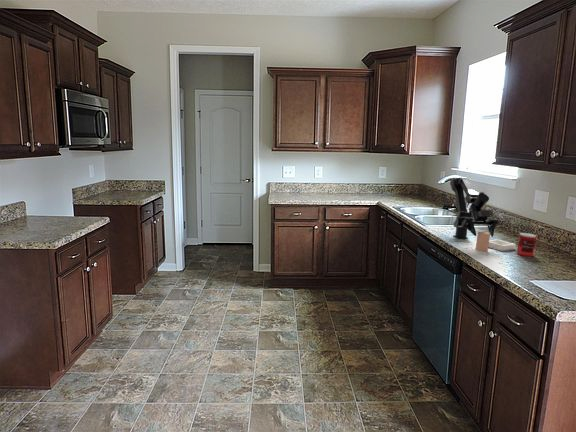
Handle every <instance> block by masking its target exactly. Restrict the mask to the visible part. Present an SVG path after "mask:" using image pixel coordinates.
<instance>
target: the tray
mask: <svg viewBox="0 0 576 432" xmlns="http://www.w3.org/2000/svg"><path fill="white" fill-rule="evenodd" d="M516 246H517V245H516V243H512V242H509V241H506V240H502V239H491V240H490V239H489V245H488V249H493V250H497V251H500V252H501V251H502V252H507V251H513V250H516Z"/></svg>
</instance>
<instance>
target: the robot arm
mask: <svg viewBox="0 0 576 432" xmlns="http://www.w3.org/2000/svg"><path fill="white" fill-rule="evenodd" d="M449 185H450V187H451V191H453V192H454V195H455V200H456V206H457V211H458V212H457V215H456V217H455V220H454V221H453V228H455V233H454V235H452V237H453V238H457V239H469V237H467V235H468V231H469V232H470V233H471V234H472V235H473V236H474V237H477V231H476V228H475V225H478V226H487V227H488V228H487V230H488V233H489V234H490V237H491V238H493V237H494V235H495V229H496V228H497V227H498V226H499V225H500V224H501V223H500V222H501V221H500V220H499V219H498V218H490V220H489V221H487V220H488V218H489V217H492V216H494V211H493V209H488V210H487V209H483V208H485V206H486V205H487V203H488V202H489V200H490V196H488V195H487V194H485V192H483V191H482V192H481V191H480V192H478V191H476V190H474V188H473V186H472V184H471V183H470V179H469V177H462V176H461V177H458V178H457V177H456V178H452V179H451V180H450V181H449ZM465 195H466V196H465ZM466 204H470V206H469V209H468V210H469V212H468V210H467V205H466ZM470 211H471V212H470Z"/></svg>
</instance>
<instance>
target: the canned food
mask: <svg viewBox="0 0 576 432" xmlns="http://www.w3.org/2000/svg"><path fill="white" fill-rule="evenodd" d="M536 242H537V235H536V234H533V233H528V232H520V233H519V237H518V243H517V249H516V250H517V251H516V253H517V255H518V256H522V257H530V258H532V257H533V256H534V253H535V249H536Z"/></svg>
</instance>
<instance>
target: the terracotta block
mask: <svg viewBox="0 0 576 432" xmlns="http://www.w3.org/2000/svg"><path fill="white" fill-rule="evenodd" d="M490 238H491V235H490V232H487V231H477V234H476V243H475V249H476V250H478V251H479V252H480V251H481V252H488V249H489V247H488V245H489V241H490Z"/></svg>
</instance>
